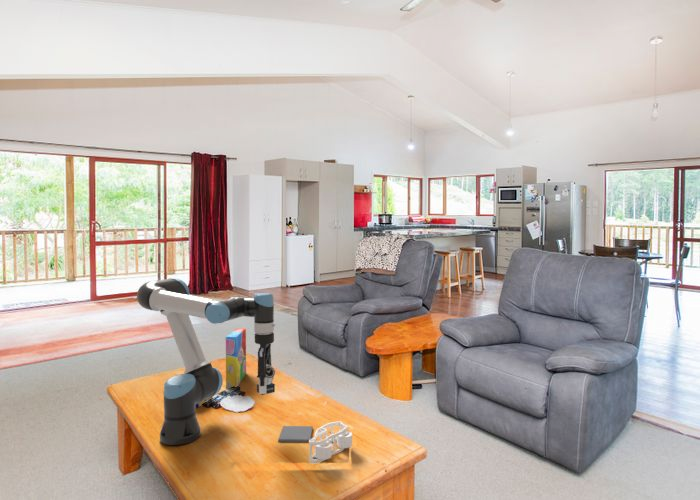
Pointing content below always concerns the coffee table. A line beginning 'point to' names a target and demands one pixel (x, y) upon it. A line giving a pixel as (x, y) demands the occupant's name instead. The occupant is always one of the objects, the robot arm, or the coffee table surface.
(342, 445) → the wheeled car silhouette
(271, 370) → the watch
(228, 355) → the game box
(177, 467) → the coffee table surface
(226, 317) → the robot arm
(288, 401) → the coffee table surface
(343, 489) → the coffee table surface
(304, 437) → the mat
